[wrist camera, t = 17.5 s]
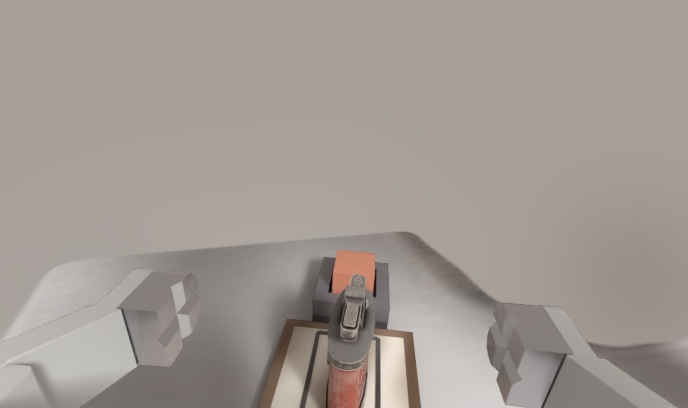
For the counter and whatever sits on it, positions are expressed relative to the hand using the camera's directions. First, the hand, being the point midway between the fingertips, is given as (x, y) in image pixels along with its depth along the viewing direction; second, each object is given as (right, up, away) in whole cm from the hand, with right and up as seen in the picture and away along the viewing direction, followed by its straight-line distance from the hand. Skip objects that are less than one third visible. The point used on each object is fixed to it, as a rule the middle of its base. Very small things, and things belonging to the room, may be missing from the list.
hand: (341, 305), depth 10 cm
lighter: (0, -13, +20) cm, 24 cm away
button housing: (+1, -9, +32) cm, 33 cm away
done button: (+1, -6, +31) cm, 31 cm away
